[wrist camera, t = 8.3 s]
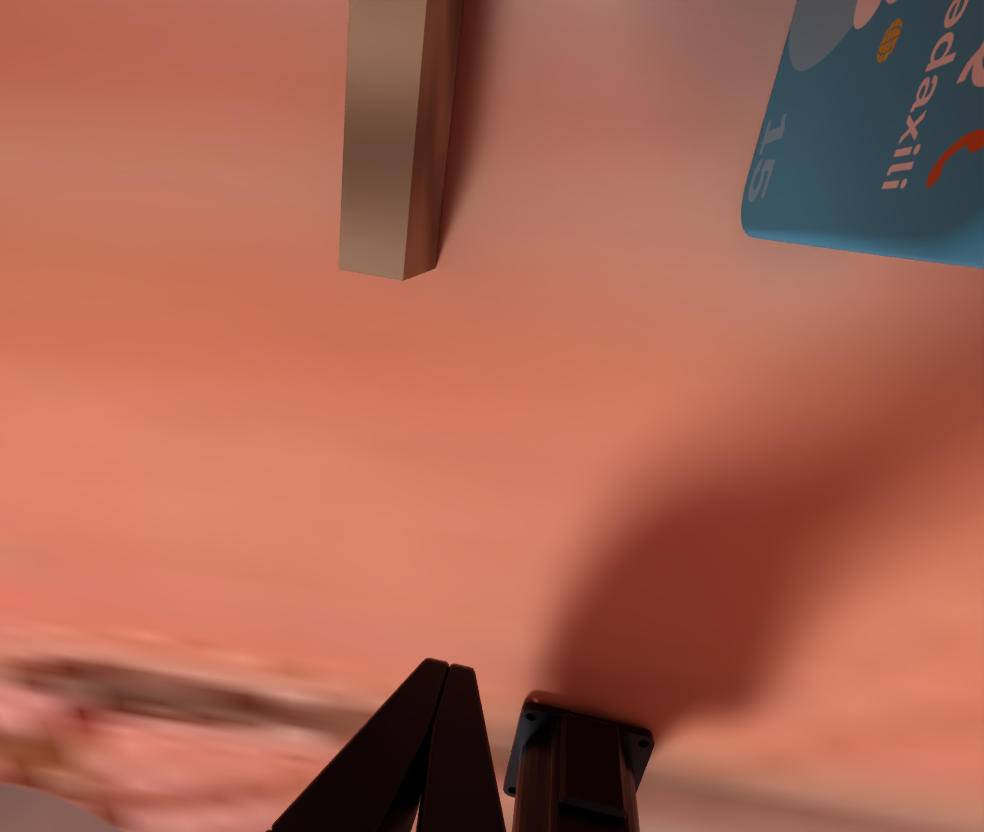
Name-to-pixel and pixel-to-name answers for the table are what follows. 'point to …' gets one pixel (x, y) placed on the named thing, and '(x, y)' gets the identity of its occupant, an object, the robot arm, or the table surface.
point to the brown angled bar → (396, 133)
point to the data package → (876, 132)
